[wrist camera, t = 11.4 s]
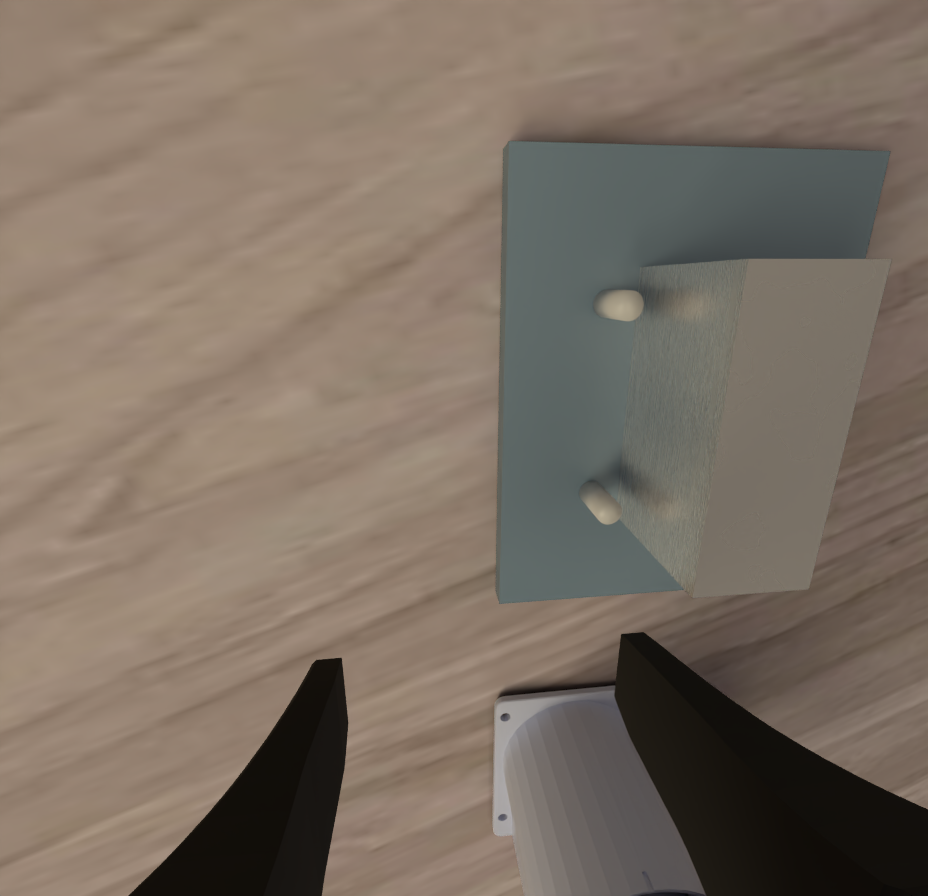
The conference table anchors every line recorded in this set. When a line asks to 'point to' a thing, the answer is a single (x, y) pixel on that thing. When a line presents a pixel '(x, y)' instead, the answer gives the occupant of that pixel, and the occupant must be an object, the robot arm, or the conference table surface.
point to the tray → (624, 321)
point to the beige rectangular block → (743, 414)
